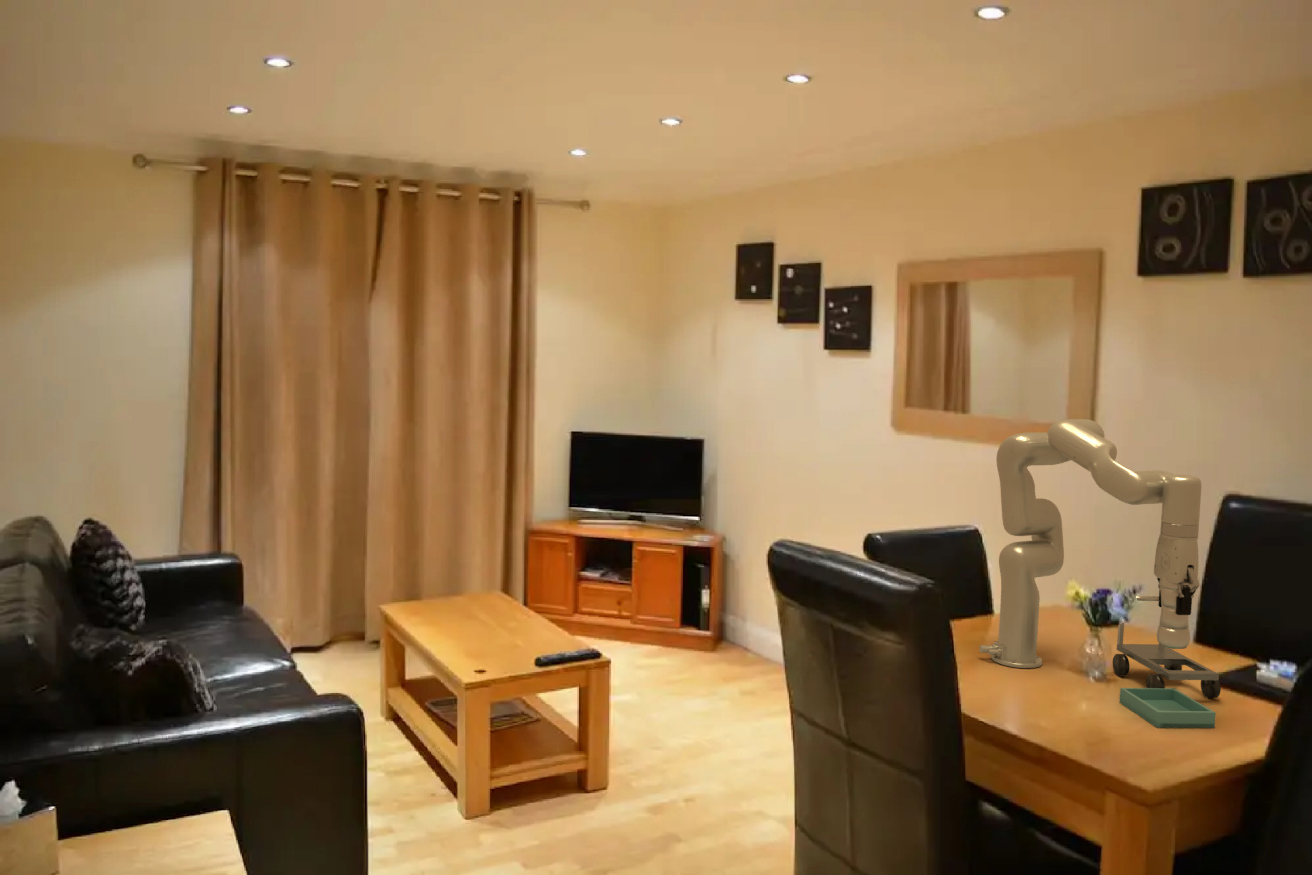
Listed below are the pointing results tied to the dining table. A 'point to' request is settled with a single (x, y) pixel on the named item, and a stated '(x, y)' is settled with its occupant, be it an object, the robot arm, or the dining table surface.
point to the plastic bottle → (1172, 618)
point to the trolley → (1163, 663)
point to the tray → (1167, 708)
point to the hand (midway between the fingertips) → (1174, 610)
